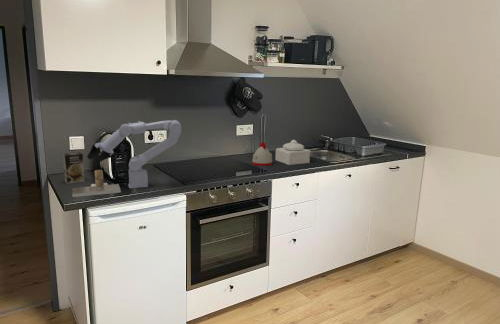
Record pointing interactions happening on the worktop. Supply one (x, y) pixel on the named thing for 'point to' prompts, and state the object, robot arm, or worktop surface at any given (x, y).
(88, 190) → the hole plate
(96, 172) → the peg
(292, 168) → the worktop surface
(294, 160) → the grey lidded box
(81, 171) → the coffee box
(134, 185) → the robot arm
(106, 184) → the pad
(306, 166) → the worktop surface
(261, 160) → the grey bobble hat
